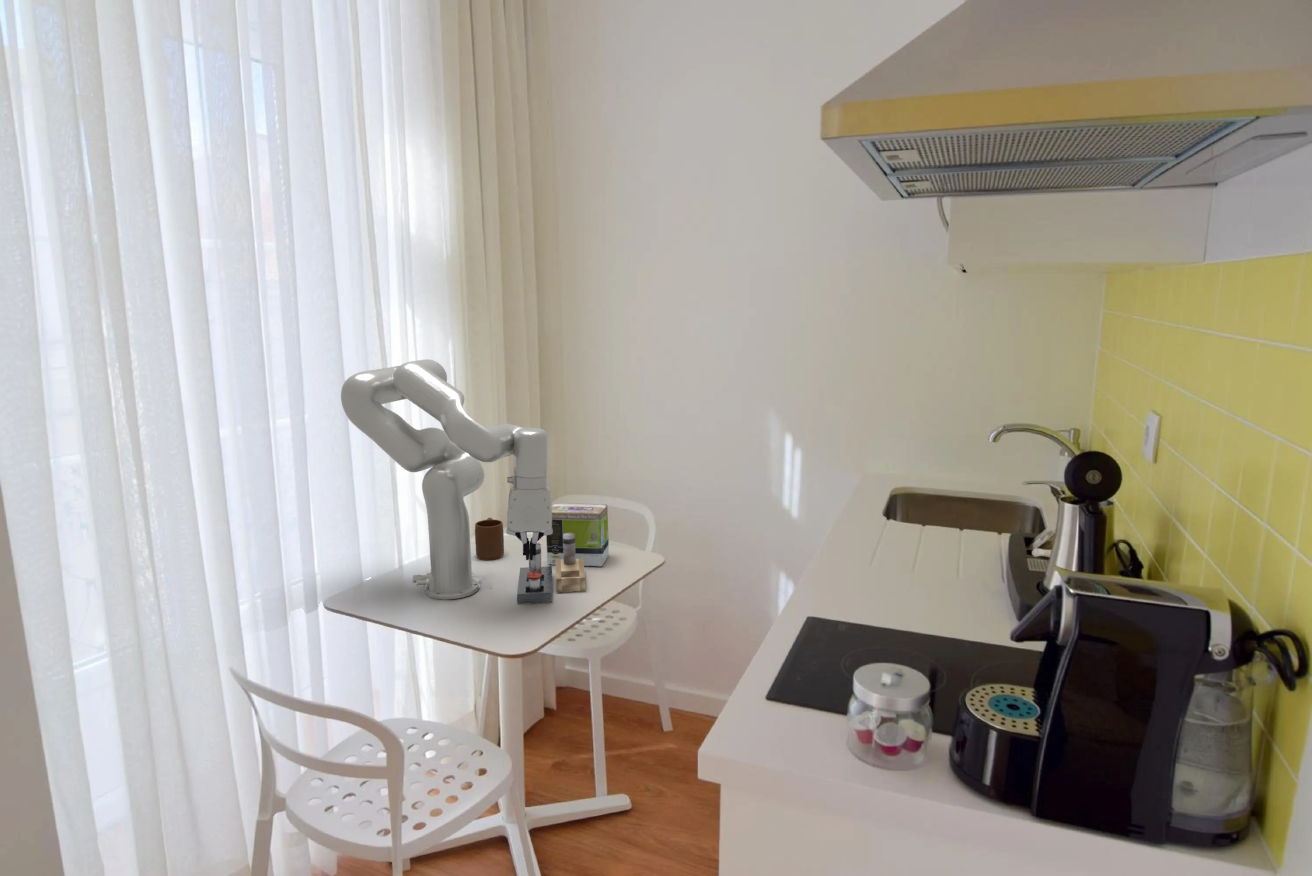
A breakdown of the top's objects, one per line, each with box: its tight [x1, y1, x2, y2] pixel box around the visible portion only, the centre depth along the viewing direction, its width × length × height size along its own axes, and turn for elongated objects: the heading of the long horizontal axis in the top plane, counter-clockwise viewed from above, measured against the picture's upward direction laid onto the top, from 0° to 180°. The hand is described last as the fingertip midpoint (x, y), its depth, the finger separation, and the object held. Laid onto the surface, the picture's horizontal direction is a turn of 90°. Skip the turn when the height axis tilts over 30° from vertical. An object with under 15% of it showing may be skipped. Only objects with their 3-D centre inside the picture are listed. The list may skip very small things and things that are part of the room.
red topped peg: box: [527, 571, 542, 593], centre depth 184 cm, size 3×3×5 cm
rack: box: [555, 533, 587, 593], centre depth 195 cm, size 7×14×11 cm, turn 7°
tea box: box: [545, 503, 610, 567], centre depth 211 cm, size 15×10×15 cm
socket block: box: [516, 565, 553, 605], centre depth 191 cm, size 8×18×2 cm, turn 7°
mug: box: [474, 517, 505, 561], centre depth 217 cm, size 12×8×9 cm, turn 10°
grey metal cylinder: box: [528, 542, 542, 581], centre depth 191 cm, size 3×3×11 cm
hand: (529, 558), depth 183 cm, fingers closed
